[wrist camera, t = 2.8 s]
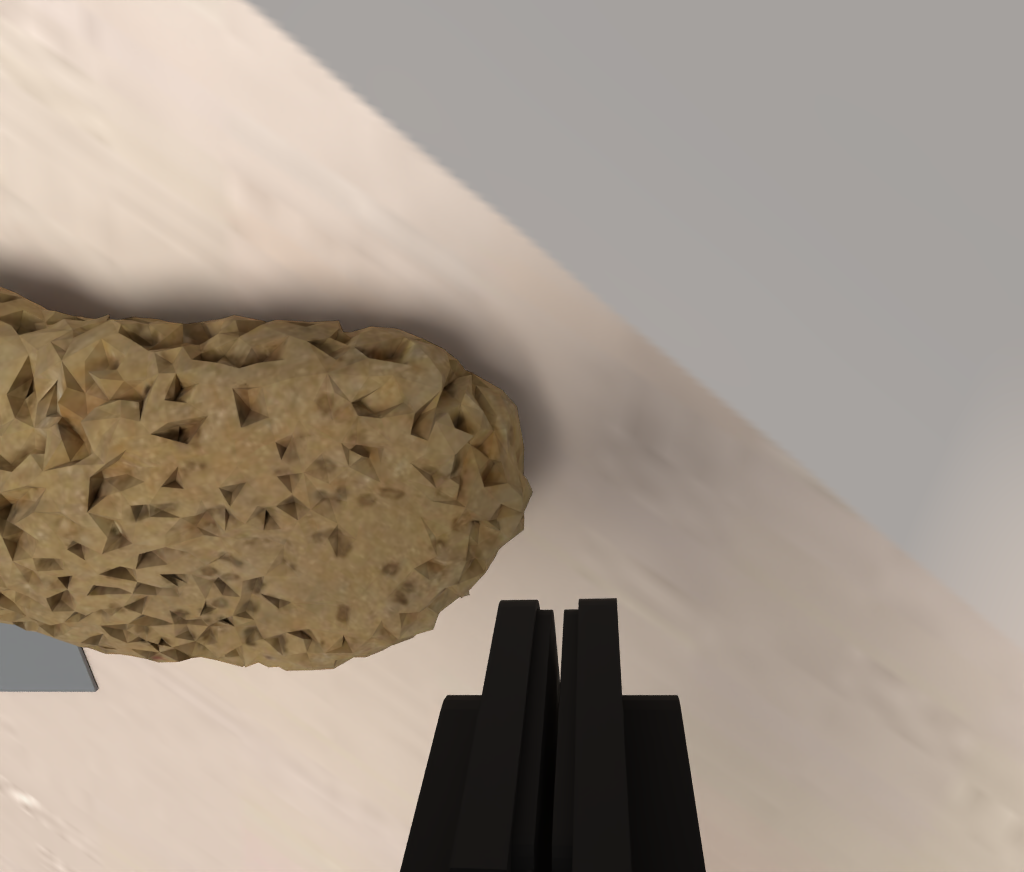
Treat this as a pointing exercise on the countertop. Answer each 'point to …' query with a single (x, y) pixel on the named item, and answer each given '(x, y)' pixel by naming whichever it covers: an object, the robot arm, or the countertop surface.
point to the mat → (41, 663)
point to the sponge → (244, 485)
